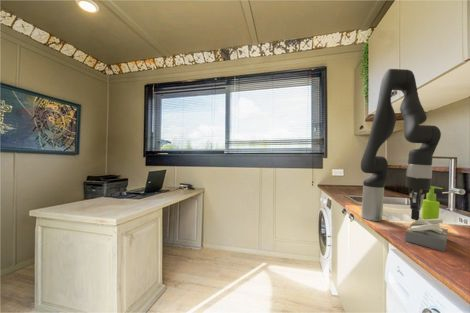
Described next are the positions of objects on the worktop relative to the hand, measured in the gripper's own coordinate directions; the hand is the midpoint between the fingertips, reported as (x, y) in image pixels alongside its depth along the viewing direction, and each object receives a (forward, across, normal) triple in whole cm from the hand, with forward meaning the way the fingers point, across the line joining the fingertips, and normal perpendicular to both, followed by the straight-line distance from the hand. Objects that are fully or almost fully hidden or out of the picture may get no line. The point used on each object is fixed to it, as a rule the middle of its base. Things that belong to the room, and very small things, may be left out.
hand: (414, 219), depth 82 cm
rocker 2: (+3, -6, +3) cm, 7 cm away
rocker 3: (+3, 0, +3) cm, 4 cm away
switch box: (+9, -6, +4) cm, 11 cm away
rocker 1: (+3, -12, +3) cm, 13 cm away
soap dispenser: (+9, -26, +3) cm, 28 cm away
